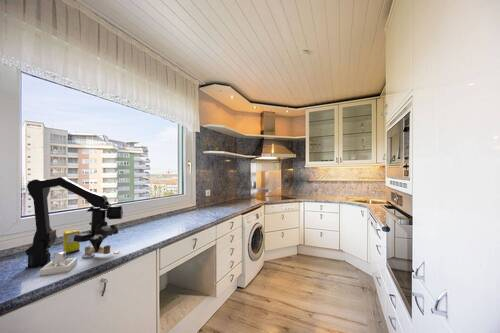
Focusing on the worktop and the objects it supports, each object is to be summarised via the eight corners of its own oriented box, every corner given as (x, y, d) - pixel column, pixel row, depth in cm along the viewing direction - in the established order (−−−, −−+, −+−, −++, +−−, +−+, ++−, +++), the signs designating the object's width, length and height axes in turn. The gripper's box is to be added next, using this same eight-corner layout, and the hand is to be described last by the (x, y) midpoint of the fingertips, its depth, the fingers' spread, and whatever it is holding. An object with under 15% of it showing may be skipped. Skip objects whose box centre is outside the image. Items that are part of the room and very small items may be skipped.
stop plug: (51, 270, 91) (52, 255, 92) (56, 266, 95) (56, 252, 95) (63, 269, 93) (63, 254, 93) (67, 265, 97) (67, 250, 97)
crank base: (80, 258, 105) (80, 256, 105) (84, 255, 110) (84, 253, 110) (118, 253, 111) (118, 252, 111) (119, 250, 116) (119, 248, 116)
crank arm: (83, 254, 107) (83, 246, 108) (88, 252, 110) (88, 244, 111) (107, 255, 106) (107, 247, 106) (111, 253, 109) (111, 245, 109)
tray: (39, 276, 88) (39, 269, 88) (51, 266, 97) (51, 261, 97) (68, 271, 91) (68, 265, 91) (77, 263, 100) (77, 257, 100)
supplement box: (76, 248, 120) (77, 229, 120) (79, 251, 116) (79, 230, 116) (62, 251, 115) (63, 231, 116) (65, 254, 111) (65, 233, 112)
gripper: (90, 224, 96) (88, 260, 95) (126, 218, 114) (125, 248, 112) (73, 222, 99) (71, 257, 98) (111, 216, 117) (109, 246, 116)
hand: (96, 251), depth 106 cm, fingers closed
